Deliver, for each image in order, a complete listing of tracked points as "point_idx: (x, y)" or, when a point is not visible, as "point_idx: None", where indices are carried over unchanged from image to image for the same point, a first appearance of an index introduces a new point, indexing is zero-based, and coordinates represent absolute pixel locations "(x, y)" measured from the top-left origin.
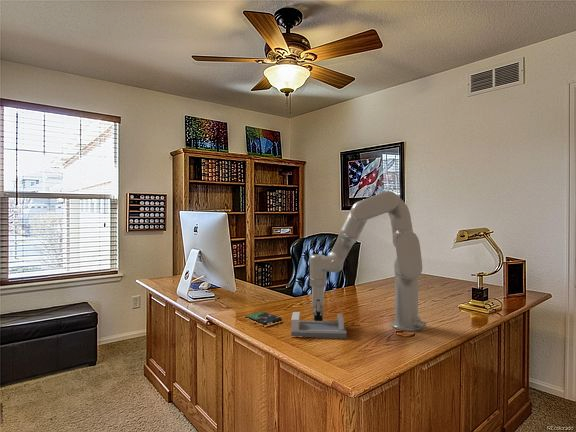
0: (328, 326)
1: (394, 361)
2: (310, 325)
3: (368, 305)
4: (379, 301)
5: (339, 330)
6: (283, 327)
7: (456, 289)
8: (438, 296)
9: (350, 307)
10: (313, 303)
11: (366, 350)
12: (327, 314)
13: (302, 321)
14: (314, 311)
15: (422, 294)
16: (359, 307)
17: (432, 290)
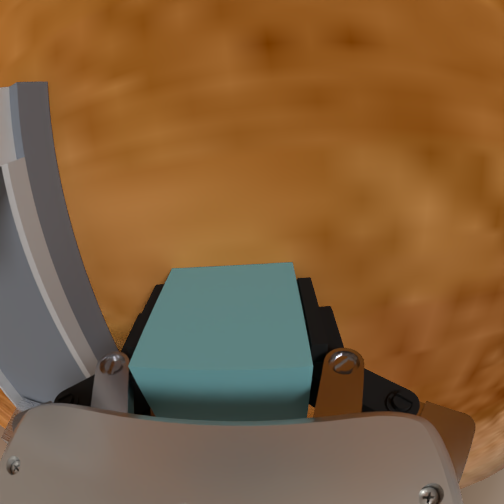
0: (61, 379)
1: (5, 424)
2: (13, 269)
3: (485, 431)
4: (499, 436)
5: (21, 404)
6: (50, 2)
7: (479, 478)
8: (461, 482)
9: (499, 399)
10: (3, 474)
11: (8, 408)
12: (457, 341)
13: (10, 193)
14: (176, 376)
15: (487, 465)
16: (482, 421)
17: (496, 464)
